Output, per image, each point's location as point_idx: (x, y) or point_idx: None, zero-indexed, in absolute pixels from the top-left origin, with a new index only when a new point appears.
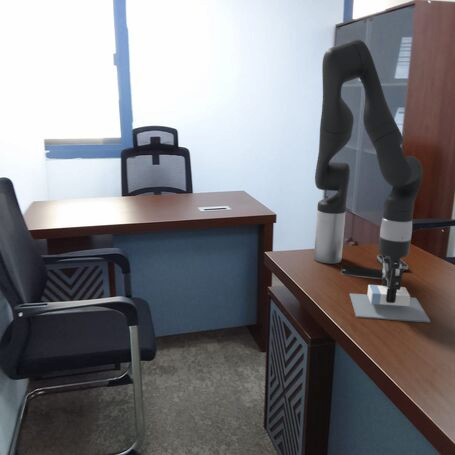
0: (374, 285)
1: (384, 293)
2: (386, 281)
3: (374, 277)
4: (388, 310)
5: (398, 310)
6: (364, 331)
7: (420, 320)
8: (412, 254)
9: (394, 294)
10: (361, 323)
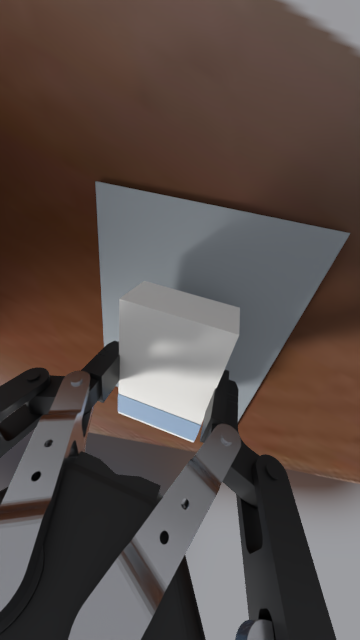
0: (122, 402)
1: (196, 412)
2: (107, 387)
3: None
4: None
5: None
6: (315, 447)
7: (322, 278)
8: None
9: (236, 414)
10: (269, 431)
